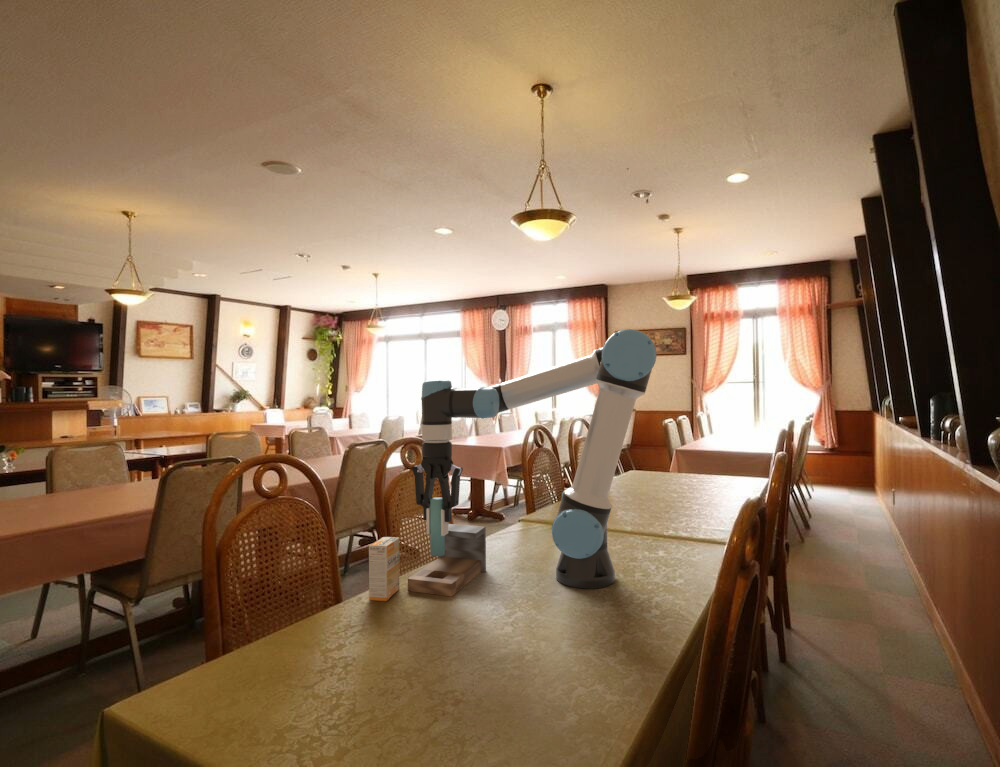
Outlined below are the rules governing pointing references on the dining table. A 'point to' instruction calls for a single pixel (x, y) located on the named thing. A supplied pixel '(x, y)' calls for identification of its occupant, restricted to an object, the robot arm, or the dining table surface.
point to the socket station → (453, 562)
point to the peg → (436, 528)
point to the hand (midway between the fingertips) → (437, 533)
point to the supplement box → (383, 568)
